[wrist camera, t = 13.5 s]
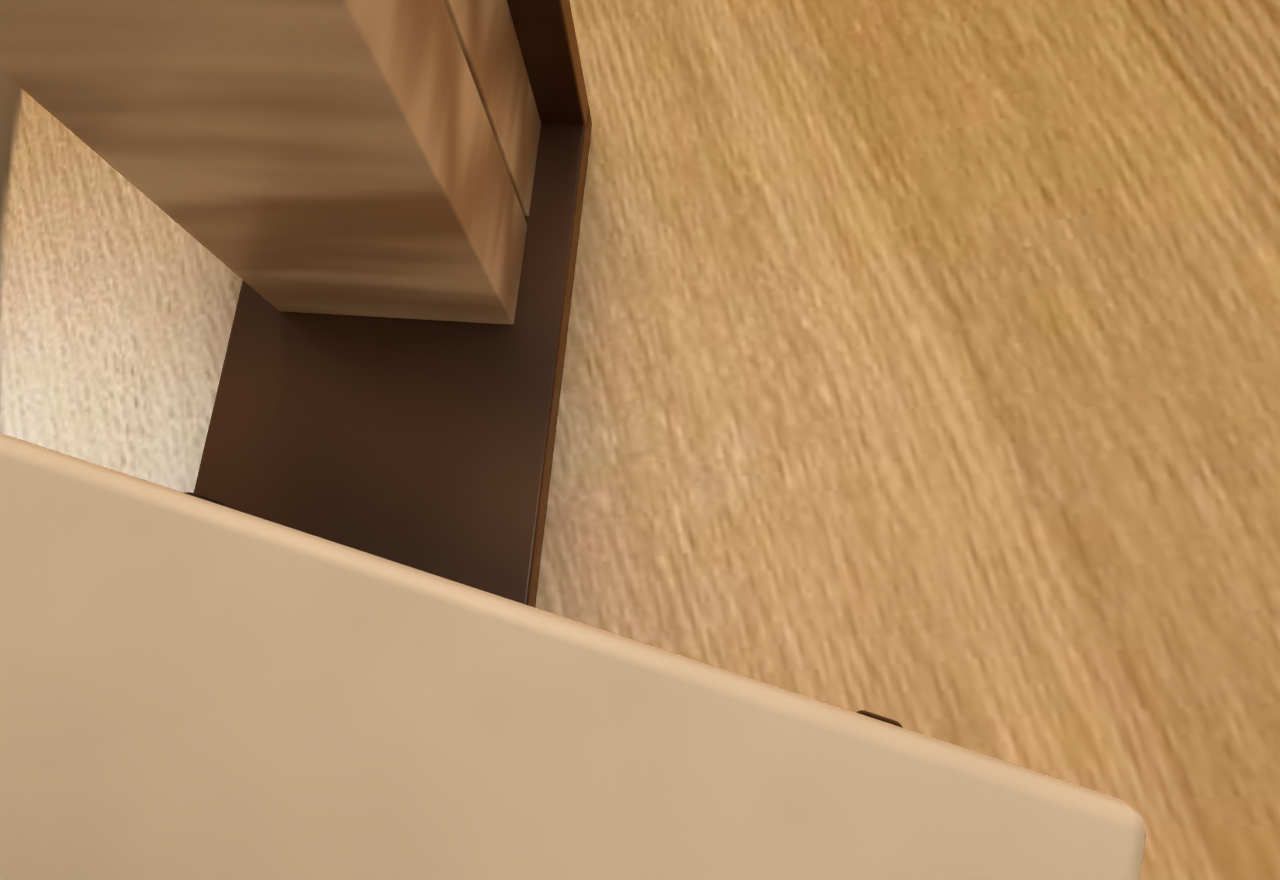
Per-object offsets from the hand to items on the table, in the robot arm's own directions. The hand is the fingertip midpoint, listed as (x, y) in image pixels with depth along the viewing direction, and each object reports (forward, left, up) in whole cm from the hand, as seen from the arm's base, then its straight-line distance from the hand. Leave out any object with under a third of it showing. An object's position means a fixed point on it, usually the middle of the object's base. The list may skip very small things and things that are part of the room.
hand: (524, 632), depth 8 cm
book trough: (+9, +5, -13) cm, 16 cm away
